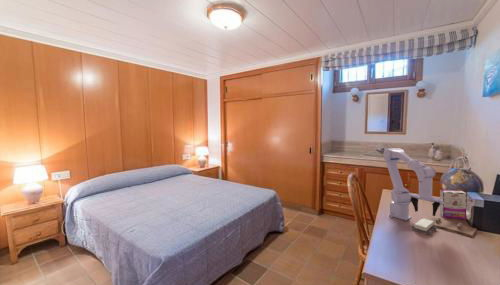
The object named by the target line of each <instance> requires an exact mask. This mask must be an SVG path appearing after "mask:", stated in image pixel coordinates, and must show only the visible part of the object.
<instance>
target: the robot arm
mask: <svg viewBox="0 0 500 285" xmlns="http://www.w3.org/2000/svg"><path fill="white" fill-rule="evenodd" d="M382 155H383V158H384V162H385V163H386V167H387V170H388V172H389V177H390V180H391V183H392V187H393V188H392V189H391V191H390V194H391V195H390V197H391V198H390V199H391V202H390V203H389V216H390V217H393V218H396V219H399V220H403V221H408V220H410V219H411V218H412V216H410V215H409V213H410V212H409V211H410V209H409V208H410V205H411V203H412V207H413V209H414V212H415V213H416V212H418V211H419V200H422V201H427V202H431V203H432V205H431V206H432V217H435V216H436V215H437V212H438V209H439V208H440V205H441V204H443V200H441V199H440V198H438V197H433V183H434V182H433V178H435V177H436V174H437V173H436V170H435V168H433V167H432V166H427V165H426V164H423V163H422V162H421V161H420V160H419V159H416V158H415V159H413V158H411V156H409V155H408V154H407V153H406V152H405V150H404V149H402V148H400V147H399V148H385V149H384V151H383V154H382ZM400 160H401V161H403V163H406V164H407V166H408V168H410V169H411V170H412V171H413V172H415V175H416V176H417V180H418V194H416V193H415V194H414V193H410V191H409V189H408V188H405V187H404V184H403V180H402V176H401V175H400V171H399V168H398V165H397V163H398V162H399V161H400Z"/></svg>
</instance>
